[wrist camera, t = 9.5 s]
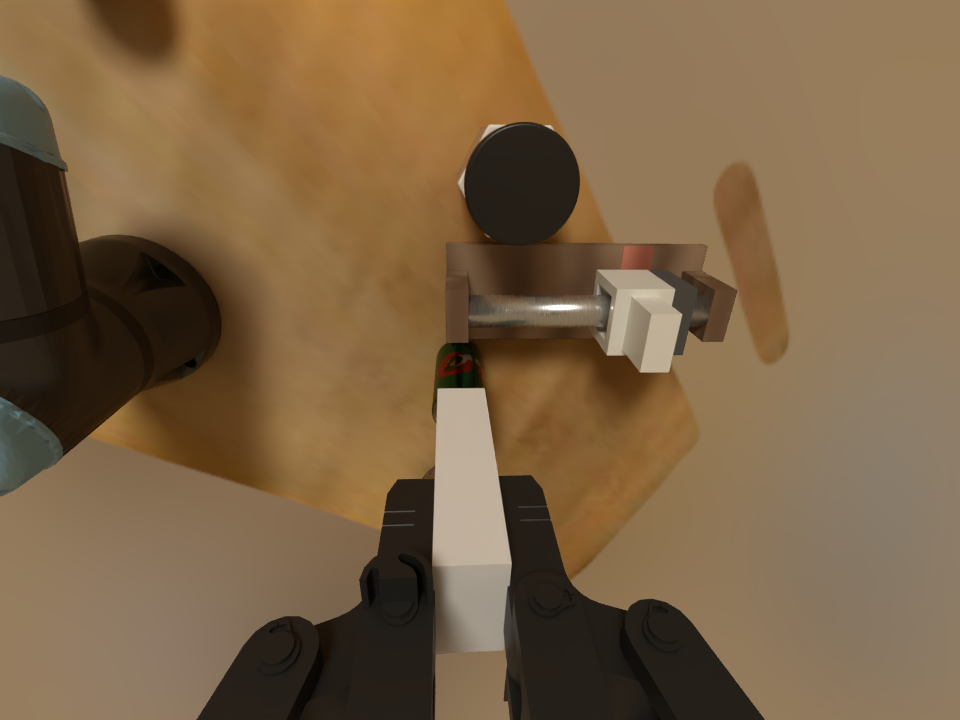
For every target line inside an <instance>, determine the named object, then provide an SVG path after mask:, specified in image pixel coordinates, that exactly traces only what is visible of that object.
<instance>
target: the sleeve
mask: <svg viewBox="0 0 960 720" xmlns="http://www.w3.org/2000/svg"><path fill="white" fill-rule="evenodd" d="M674 293H675V289H674V288H673V287H671V286H670V285H668V284H667V283H666V282H664V281H663V280H661V279H660V278H658V277H657V276H656V275H654V274H653V273H651V272H650V271H648V270H597V271H596V279H595V286H594V293H593V295H611V296H612V299H611V306H610V312H609V319H608V325H607V327H589V330H590V332H591V333H592V335H593V336H594V338H595V339H596V340H597V342H598V343H599V345H600V346H601V348H602V349H603V351H604V352H605V354H606V355H627V356H628V358H629V359H630V360H631V362H632V363H633V364H634V365H635V367H636V368H637V369H638V371H639V372H669V370H670V365H671V361H672V357H673V353H674V348H675V344H676V340H677V335H678V331H679V327H680V322H681V318H682V314H681V313H680V312H679V311H677V310H676V309H675V308H674V307H672V302H673V298H674Z"/></svg>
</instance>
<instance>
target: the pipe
mask: <svg viewBox="0 0 960 720" xmlns="http://www.w3.org/2000/svg"><path fill="white" fill-rule="evenodd" d="M611 299H612V296H611V295H469V307H468V328H514V327H607V325H608V319H609V312H610V306H611ZM709 313H710V306H709V301H708V299H707V298H706V297H705V296H704V295H697V297H696V301H695V305H694V309H693V314H692V318H691V322H690V326H689V327H702V326H704V325H705V324H706V322H707V321H708V318H709Z"/></svg>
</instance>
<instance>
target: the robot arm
mask: <svg viewBox="0 0 960 720" xmlns="http://www.w3.org/2000/svg"><path fill="white" fill-rule="evenodd" d="M65 171H66V172H68V167H67V164H66V163H65V162H64V161H63V160H62V159H61V156H60V152H59V148H58V144H57V140H56V136H55V132H54V128H53V124H52V120H51V117H50V114H49V111H48V109H47V108H46V106H45V104H44V103H43V102H42V101H41V99H40V98H39V97H38V96H37V95H36V94H35V93H34V92H32V91H31V90H30V89H29V88H27V87H26V86H24V85H22V84H21V83H19V82H17V81H15V80H12V79H10V78H7V77H4V76H1V75H0V496H3V495H5V494H7V493H9V492H12V491H14V490H15V489H17V488H19V487H20V486H21V485H23V484H24V483H26V482H27V481H28V480H30V479H31V478H33V477H34V476H35V475H37V474H38V473H40V472H41V471H42V470H44V469H48V468H50V467H51V466H53V465H55V464H56V463H57V462H58V461H59V460H60V459H61V458H62V457H63V456H64V455H65V454H67V453H68V452H69V451H70V450H71V449H73V448H74V447H75V446H76V445H77V444H79V443H80V442H81V441H82V440H83V439H84V438H86V437H87V436H88V435H89V434H90V433H92V432H93V431H94V430H95V429H96V428H98V427H99V426H100V425H101V424H102V423H103V422H105V421H106V420H107V419H108V418H109V417H111V416H112V415H113V414H114V413H115V412H117V411H118V410H119V409H120V408H121V407H122V406H124V405H125V404H126V403H127V402H128V401H130V400H131V399H132V398H133V397H134V396H135V395H137V394H138V393H139V392H142V391H145V390H148V389H151V388H155V387H158V386H161V385H165V384H168V383H171V382H175V381H178V380H180V379H182V378H184V377H186V376H188V375H190V374H191V373H193V372H194V371H195V370H197V369H198V368H199V367H200V366H201V365H202V364H203V363H205V362H206V361H207V360H208V359H209V358H210V356H211V355H212V354H213V352H214V351H215V349H216V347H217V345H218V342H219V339H220V334H221V317H220V312H219V308H218V305H217V302H216V300H215V297H214V295H213V293H212V292H211V290H210V288H209V287H208V285H207V283H206V282H205V281H204V279H203V278H202V277H201V276H200V274H199V273H198V272H197V271H196V270H195V269H194V268H193V267H192V266H191V265H190V264H189V263H187V262H186V261H185V260H184V259H182V258H181V257H180V256H178V255H177V254H175V253H174V252H172V251H171V250H169V249H167V248H165V247H163V246H161V245H159V244H157V243H154V242H152V241H149V240H146V239H143V238H139V237H134V236H127V235H107V236H101V237H97V238H93V239H90V240H86V241H83V242H79V243H78V238H77V232H76V227H75V222H74V217H73V212H72V207H71V202H70V197H69V192H68V187H67V182H66V177H65ZM359 581H360V589H361V597H362V601H361V602H360V603H359V605H357V606H356V607H355V608H353V609H352V610H351V611H349V612H347V613H345V614H343V615H341V616H339V617H337V618H334V619H331V620H328V621H325V622H322V623H320V624H317V625H314V626H313V624H312V623H311V622H310V621H308V620H306V619H304V618H302V617H299V616H298V617H297V616H294V617H293V616H292V617H291V616H287V617H286V616H285V617H282V618H279V619H276V620H273V621H271V622H269V623H267V624H266V625H264V626H263V627H261V628H260V629H259V630H257V631H256V632H255V633H254V634H253V635H252V636H251V637H250V639H249V640H248V641H247V642H246V643H245V644H244V646H243V647H242V649H241V651H240V652H239V654H238V655H237V657H236V658H235V660H234V662H233V663H232V665H231V666H230V668H229V669H228V671H227V673H226V674H225V676H224V678H223V679H222V681H221V682H220V684H219V685H218V687H217V688H216V690H215V692H214V693H213V695H212V696H211V698H210V700H209V701H208V703H207V704H206V706H205V707H204V709H203V710H202V712H201V714H200V715H199V717H198V719H197V720H435V654H445V653H464V652H483V651H501V650H502V651H503V650H504V641H505V649H506V658H507V670H506V680H505V691H504V701H508V705H509V714H510V720H764V718H763V717H762V715H761V714H760V713H759V711H758V710H757V709H756V707H755V706H754V705H753V703H752V702H751V701H750V700H749V698H748V697H747V696H746V694H745V693H744V692H743V690H742V689H741V688H740V686H739V685H738V684H737V682H736V681H735V680H734V678H733V677H732V676H731V674H730V673H729V672H728V670H727V669H726V668H725V666H724V665H723V664H722V662H721V661H720V660H719V658H718V657H717V656H716V654H715V653H714V652H713V650H712V649H711V648H710V646H709V645H708V644H707V642H706V641H705V640H704V638H703V637H702V636H701V634H700V633H699V632H698V630H697V629H696V628H695V626H694V625H693V624H692V623H691V621H690V620H689V619H688V618H687V617H686V616H685V615H684V614H683V613H682V612H681V611H680V610H678V609H676V608H675V607H673V606H671V605H670V604H668V603H666V602H663V601H659V600H655V599H644V600H639V601H637V602H636V603H634V604H632V605H631V606H630V607H629V609H628V611H626V610H622V609H619V608H615V607H612V606H608V605H604V604H601V603H598V602H596V601H593V600H591V599H589V598H587V597H586V596H584V595H583V594H581V593H580V592H579V591H578V590H577V589H576V588H575V587H574V586H573V585H572V583H571V582H570V581H569V579H568V577H567V575H566V572H565V570H564V566H563V562H562V559H561V555H560V551H559V548H558V544H557V541H556V537H555V533H554V530H553V526H552V522H551V521H550V515H549V511H548V508H547V504H546V500H545V497H544V493H543V489H542V488H541V487H540V485H539V484H538V483H537V482H536V481H535V480H534V478H533V477H532V476H531V475H524V476H498V472H497V465H496V459H495V452H494V446H493V439H492V433H491V426H490V420H489V413H488V407H487V400H486V394H485V388H443V389H438V393H437V425H436V458H435V479H398V480H397V481H396V483H395V484H394V485H393V487H392V488H391V490H390V491H389V492H388V494H387V499H386V505H385V514H384V518H383V526H382V530H381V536H380V543H379V549H378V555H377V556H376V557H374V558H373V559H372V560H371V561H370V562H369V563H368V564H367V565H366V567H364V570H363V572H362V575H361V577H360V580H359Z"/></svg>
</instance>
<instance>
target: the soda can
mask: <svg viewBox="0 0 960 720" xmlns="http://www.w3.org/2000/svg"><path fill="white" fill-rule="evenodd" d="M443 388H485V394H486V387H485V379H484V370H483V362H482V355H481V353H480V351H479V349H478V348H477V347H476V346H475V345H474V344H472V343H470V342H468V343H446V344H445V345H444V346H443V347H442V348H441V349H440V350H439V352H438V354H437V359H436V370H435V381H434V393H433V404H432V416H433V419H434V421H435V423H436V424H437V393H438V389H443ZM486 400H487V396H486ZM487 407H488V405H487Z"/></svg>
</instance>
